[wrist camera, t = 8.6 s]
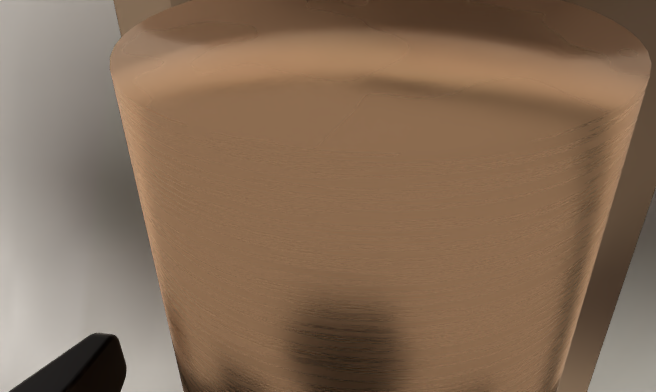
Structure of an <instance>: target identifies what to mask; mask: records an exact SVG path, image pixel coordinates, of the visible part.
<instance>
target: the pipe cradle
mask: <svg viewBox="0 0 656 392" xmlns="http://www.w3.org/2000/svg"><path fill="white" fill-rule="evenodd" d="M188 1H192V0H114V5H115V9H116V14H117V19H118V24H119V28H120V33H121V37H122V36H123V35H124V34H125V33H127V32H128V31H129V30H130V29H132V28H133V27H134V26H135V25H137V24H139V23H140V22H142V21H144V20H146V19H147V18H149V17H151V16H153V15H155V14H157V13H160V12H162V11H164V10H166V9H169V8H171V7H174V6H177V5H180V4H182V3H185V2H188ZM562 1H566V2H569V3H572V4H575V5H578V6H581V7H583V8H586V9H589V10H591V11H594V12H596V13H598V14H600V15H602V16H605V17H607V18H609V19H611V20H613V21H614V22H616V23H618V24H619V25H621V26H623V27H624V28H626V29H627V30H629V31H630V32H631V33H632V34H633V35H634V36H636V37H637V38H638V39H639V40H640V41H641V43H642V44H643V45H644V47H645V48H646V49H647V51H648V53H649V57H650V60H651V70H650V77H649V80H648V83H647V87H646V90H645V94H644V97H643V100H642V104H641V107H640V111H639V114H638V117H637V121H636V124H635V128H634V131H633V134H632V138H631V141H630V145H629V148H628V151H627V155H626V158H625V162H624V165H623V168H622V172H621V175H620V179H619V182H618V185H617V189H616V192H615V196H614V199H613V202H612V206H611V209H610V213H609V216H608V219H607V223H606V226H605V230H604V233H603V236H602V240H601V243H600V247H599V250H598V253H597V257H596V260H595V264H594V267H593V270H592V274H591V277H590V281H589V284H588V287H587V291H586V294H585V298H584V301H583V304H582V308H581V311H580V315H579V318H578V321H577V325H576V328H575V332H574V335H573V338H572V342H571V345H570V349H569V352H568V355H567V359H566V362H565V365H564V369H563V372H562V376H561V379H560V382H559V386H558V389H557V392H587V390H588V387H589V384H590V381H591V378H592V375H593V372H594V369H595V366H596V363H597V360H598V357H599V354H600V351H601V348H602V345H603V342H604V339H605V336H606V333H607V330H608V327H609V324H610V321H611V318H612V315H613V312H614V309H615V306H616V303H617V300H618V297H619V294H620V291H621V288H622V285H623V282H624V280H625V277H626V274H627V271H628V268H629V265H630V262H631V259H632V256H633V253H634V250H635V247H636V244H637V241H638V238H639V235H640V232H641V229H642V226H643V223H644V220H645V217H646V214H647V211H648V208H649V205H650V202H651V199H652V196H653V193H654V190H655V187H656V0H562Z"/></svg>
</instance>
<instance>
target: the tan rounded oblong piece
mask: <svg viewBox="0 0 656 392" xmlns="http://www.w3.org/2000/svg"><path fill="white" fill-rule="evenodd" d="M650 70H651V60H650V57H649V53H648V51H647V49H646V48H645V47H644V45H643V44H642V43H641V41H640V40H639V39H638V38H637V37H636V36H634V35H633V34H632V33H631V32H630V31H629V30H627V29H626V28H624V27H623V26H621V25H619V24H618V23H616V22H614V21H613V20H611V19H609V18H607V17H605V16H602V15H600V14H598V13H596V12H594V11H591V10H589V9H586V8H583V7H581V6H578V5H575V4H572V3H569V2H566V1H562V0H192V1H188V2H185V3H182V4H180V5H177V6H174V7H171V8H169V9H166V10H164V11H162V12H160V13H157V14H155V15H153V16H151V17H149V18H147V19H146V20H144V21H142V22H140V23H139V24H137V25H135V26H134V27H133V28H132V29H130V30H129V31H128V32H127V33H125V34H124V35H123V36H122V37H121V38H120V40H119V41H118V42H117V43H116V45H115V46H114V48H113V51H112V53H111V55H110V71H111V76H112V80H113V84H114V89H115V93H116V98H117V102H118V106H119V111H120V115H121V119H122V124H123V128H124V133H125V137H126V141H127V146H128V150H129V154H130V159H131V163H132V168H133V172H134V176H135V181H136V185H137V189H138V194H139V198H140V203H141V207H142V211H143V216H144V220H145V224H146V229H147V233H148V238H149V242H150V246H151V251H152V255H153V259H154V264H155V268H156V272H157V277H158V281H159V286H160V290H161V294H162V299H163V303H164V307H165V312H166V316H167V321H168V325H169V329H170V334H171V338H172V342H173V347H174V351H175V356H176V360H177V364H178V369H179V373H180V377H181V382H182V386H183V391H184V392H557V389H558V386H559V382H560V379H561V376H562V372H563V369H564V365H565V362H566V359H567V355H568V352H569V349H570V345H571V342H572V338H573V335H574V332H575V328H576V325H577V321H578V318H579V315H580V311H581V308H582V304H583V301H584V298H585V294H586V291H587V287H588V284H589V281H590V277H591V274H592V270H593V267H594V264H595V260H596V257H597V253H598V250H599V247H600V243H601V240H602V236H603V233H604V230H605V226H606V223H607V219H608V216H609V213H610V209H611V206H612V202H613V199H614V196H615V192H616V189H617V185H618V182H619V179H620V175H621V172H622V168H623V165H624V162H625V158H626V155H627V151H628V148H629V145H630V141H631V138H632V134H633V131H634V128H635V124H636V121H637V117H638V114H639V111H640V107H641V104H642V100H643V97H644V94H645V90H646V87H647V83H648V80H649V77H650Z"/></svg>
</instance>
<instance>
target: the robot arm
mask: <svg viewBox="0 0 656 392" xmlns="http://www.w3.org/2000/svg"><path fill="white" fill-rule="evenodd" d="M125 377H126V363H125V359H124V356H123V352H122V349H121V346H120V342H119V339H118V338H117V337H116V336H115V335H113V334H104V333H94V334H91V335H89V336H88V337H86V338H85V339H84V340H82V341H81V342H79V343H78V344H76V345H75V346H73V347H72V348H71V349H69V350H68V351H66V352H65V353H63V354H62V355H61V356H59V357H58V358H56V359H55V360H53V361H52V362H50V363H49V364H48V365H46V366H45V367H43V368H42V369H40V370H39V371H38V372H36V373H35V374H33V375H32V376H30V377H29V378H28V379H26V380H25V381H23V382H22V383H20V384H19V385H17V386H16V387H15V388H13V389H12V390H10V391H9V392H120V391H121V389H122V386H123V383H124V380H125Z"/></svg>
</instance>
